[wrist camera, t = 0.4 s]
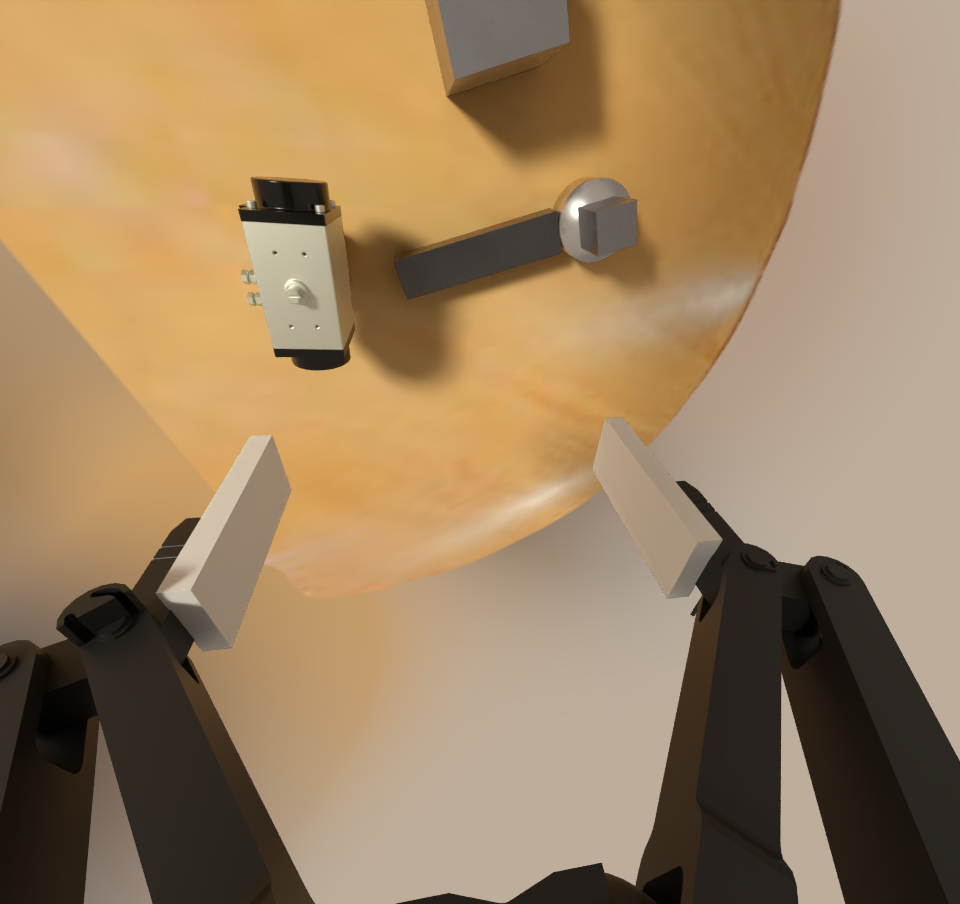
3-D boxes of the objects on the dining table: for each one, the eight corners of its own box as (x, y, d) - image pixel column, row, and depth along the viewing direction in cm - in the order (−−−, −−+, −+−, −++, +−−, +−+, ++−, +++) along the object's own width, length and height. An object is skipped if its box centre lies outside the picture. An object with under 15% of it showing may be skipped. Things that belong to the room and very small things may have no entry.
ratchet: (388, 238, 33) (383, 253, 28) (616, 167, 32) (658, 168, 27) (413, 307, 37) (412, 332, 31) (618, 245, 36) (655, 260, 30)
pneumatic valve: (347, 179, 30) (315, 185, 21) (363, 327, 37) (345, 383, 28) (271, 173, 30) (203, 176, 20) (302, 325, 36) (262, 382, 27)
